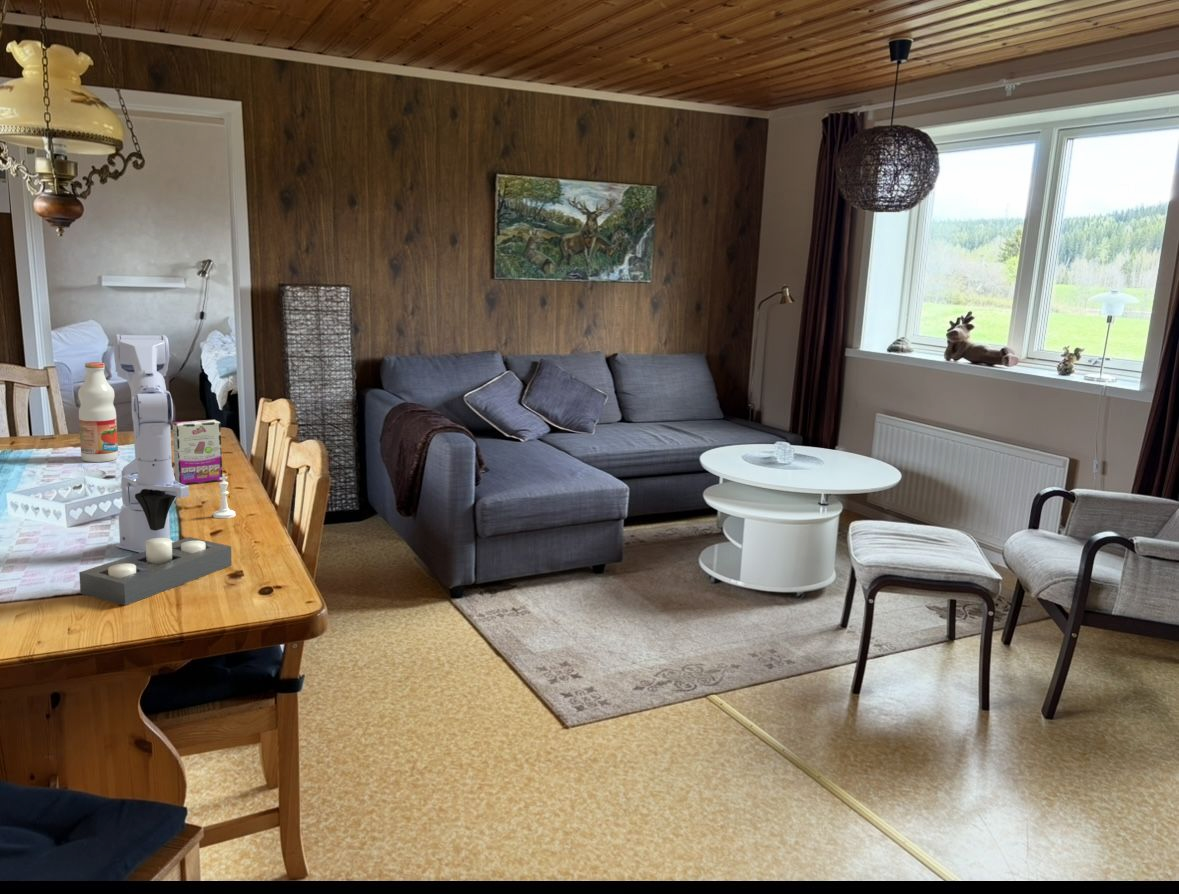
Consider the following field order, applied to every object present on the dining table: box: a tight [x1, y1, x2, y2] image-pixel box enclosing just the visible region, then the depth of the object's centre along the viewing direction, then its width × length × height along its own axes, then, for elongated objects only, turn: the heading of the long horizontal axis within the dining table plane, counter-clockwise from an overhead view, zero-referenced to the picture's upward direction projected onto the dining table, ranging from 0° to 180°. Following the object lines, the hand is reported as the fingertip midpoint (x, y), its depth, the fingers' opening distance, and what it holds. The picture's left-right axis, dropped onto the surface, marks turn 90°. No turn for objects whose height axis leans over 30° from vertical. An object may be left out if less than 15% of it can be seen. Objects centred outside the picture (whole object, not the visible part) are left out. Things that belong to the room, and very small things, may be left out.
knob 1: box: [108, 563, 136, 578], centre depth 156 cm, size 4×4×4 cm
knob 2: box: [181, 541, 206, 553], centre depth 170 cm, size 4×4×4 cm
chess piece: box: [213, 473, 237, 520], centre depth 204 cm, size 5×5×10 cm
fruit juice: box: [77, 361, 119, 463], centre depth 248 cm, size 9×9×28 cm
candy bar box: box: [172, 419, 223, 486], centre depth 232 cm, size 11×5×16 cm, turn 129°
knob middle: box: [146, 538, 173, 565], centre depth 162 cm, size 4×4×4 cm
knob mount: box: [78, 536, 232, 606], centre depth 163 cm, size 11×24×4 cm, turn 158°
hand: (157, 528), depth 161 cm, fingers closed
